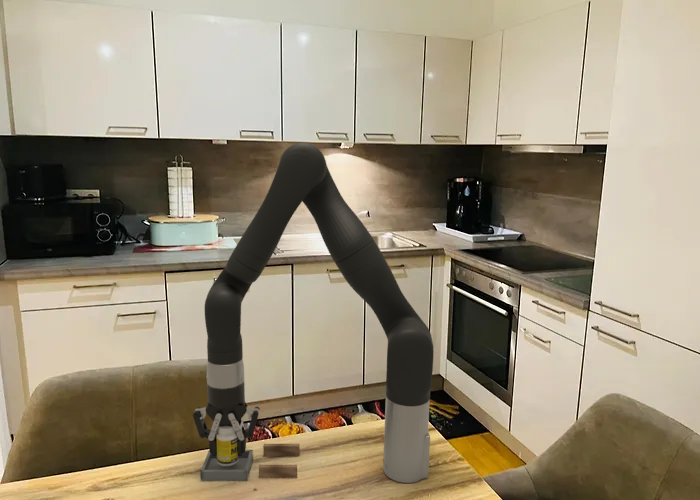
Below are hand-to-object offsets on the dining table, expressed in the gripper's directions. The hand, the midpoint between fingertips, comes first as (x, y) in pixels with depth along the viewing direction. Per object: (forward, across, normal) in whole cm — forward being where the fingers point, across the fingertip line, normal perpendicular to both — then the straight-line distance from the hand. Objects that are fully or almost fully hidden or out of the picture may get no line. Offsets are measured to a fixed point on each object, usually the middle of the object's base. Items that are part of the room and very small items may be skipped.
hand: (227, 453), depth 111 cm
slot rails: (+4, -11, -1) cm, 12 cm away
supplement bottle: (+2, 0, 0) cm, 2 cm away
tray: (+4, 0, 0) cm, 4 cm away
